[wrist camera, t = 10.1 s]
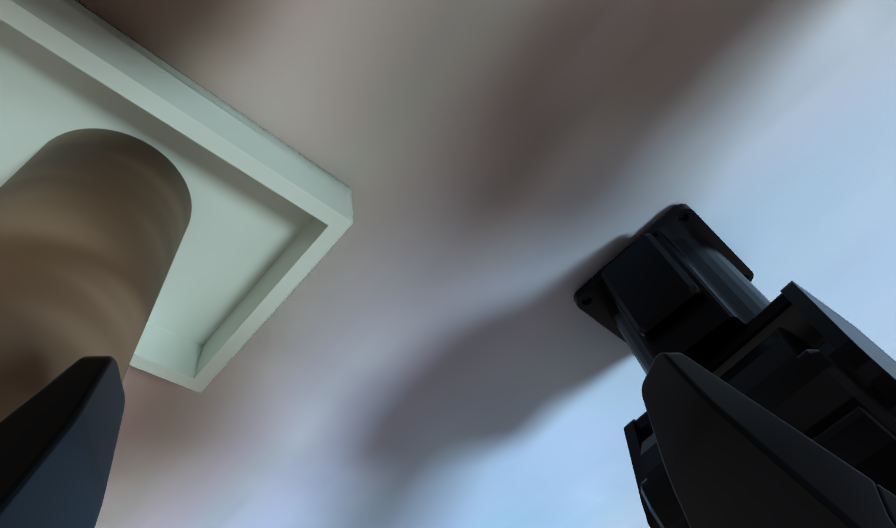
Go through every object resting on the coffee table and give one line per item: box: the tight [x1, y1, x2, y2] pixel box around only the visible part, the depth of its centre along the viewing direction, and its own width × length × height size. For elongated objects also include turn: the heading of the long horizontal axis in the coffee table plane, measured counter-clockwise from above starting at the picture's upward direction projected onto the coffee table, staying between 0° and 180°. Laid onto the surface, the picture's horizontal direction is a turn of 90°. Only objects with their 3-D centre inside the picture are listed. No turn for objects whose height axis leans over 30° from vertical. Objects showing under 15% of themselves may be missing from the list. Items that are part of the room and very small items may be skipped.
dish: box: [0, 0, 353, 393], centre depth 19 cm, size 13×10×2 cm
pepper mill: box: [0, 128, 192, 421], centre depth 14 cm, size 5×5×15 cm
